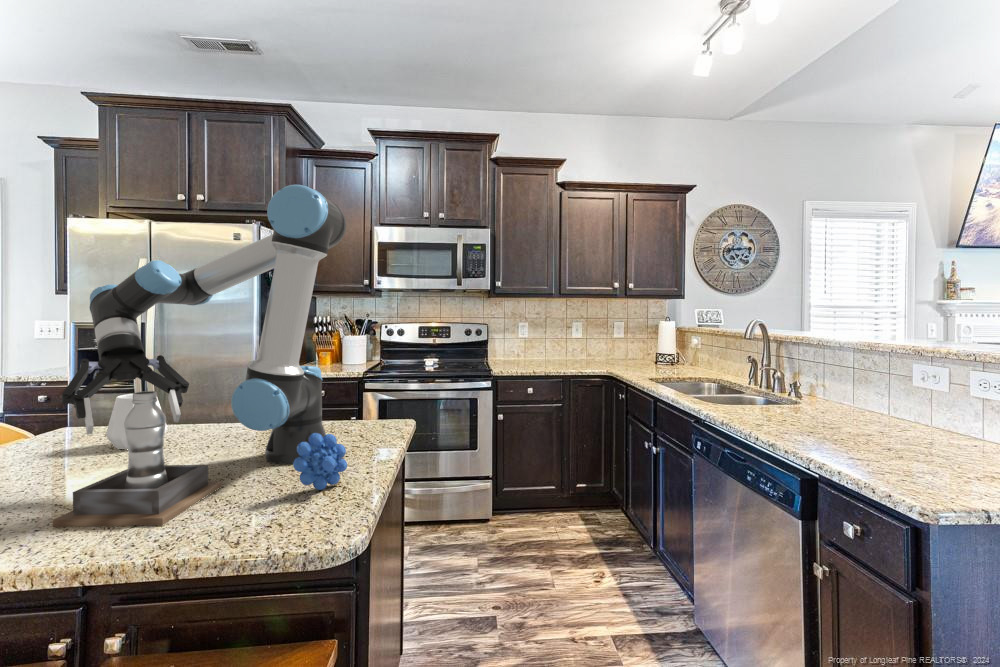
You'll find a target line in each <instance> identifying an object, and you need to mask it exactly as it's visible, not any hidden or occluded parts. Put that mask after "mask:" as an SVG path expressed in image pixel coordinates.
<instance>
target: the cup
mask: <svg viewBox="0 0 1000 667" xmlns="http://www.w3.org/2000/svg"><path fill="white" fill-rule="evenodd" d="M157 400H158V401H157V402H156V405H157V406H158V407H159V408H160V409H161V410H162V407H161V404H160V401H159V398H158V397H157ZM132 401H133V393H128V394H122V395H118V396H116V397H115V401H114V405H113V406H112V411H111V416H110V419H109V422H108V425H107V429H106V434H105V435H106V439H108V441H109V442H110V443H111V444H112V446H114V448H115V449H116V448H117V449H116V450H119V449H128V444H127V438H126V433H125V428H124V421H125V418H126V416H127V415H128V413H129V412H130V411H131V410H132V408H133V407H134V404H133V403H132ZM167 430H168V425H167V424H166V425H165V432H164V435H166V432H167Z"/></svg>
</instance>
